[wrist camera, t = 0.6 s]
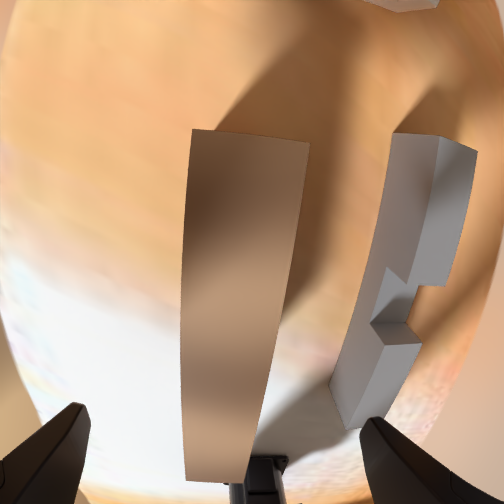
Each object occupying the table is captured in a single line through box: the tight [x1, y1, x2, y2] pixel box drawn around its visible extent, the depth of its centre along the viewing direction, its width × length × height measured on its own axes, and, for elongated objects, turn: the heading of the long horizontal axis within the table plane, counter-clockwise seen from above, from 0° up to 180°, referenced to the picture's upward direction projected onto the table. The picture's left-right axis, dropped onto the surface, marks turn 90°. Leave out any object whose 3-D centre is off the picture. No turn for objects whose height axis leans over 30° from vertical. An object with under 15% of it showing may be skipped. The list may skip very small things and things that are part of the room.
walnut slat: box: [180, 129, 310, 483], centre depth 15 cm, size 16×3×10 cm, turn 173°
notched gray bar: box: [329, 133, 478, 430], centre depth 18 cm, size 20×3×5 cm, turn 173°
